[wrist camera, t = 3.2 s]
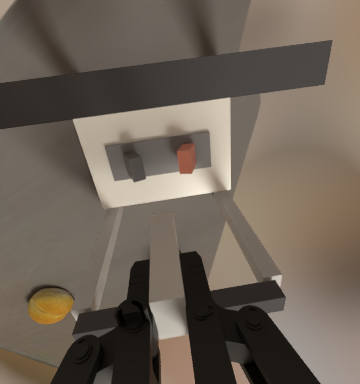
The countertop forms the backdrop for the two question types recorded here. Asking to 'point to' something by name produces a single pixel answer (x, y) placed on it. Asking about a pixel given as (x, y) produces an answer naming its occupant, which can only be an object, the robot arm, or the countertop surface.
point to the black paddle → (134, 166)
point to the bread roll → (50, 305)
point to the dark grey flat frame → (160, 97)
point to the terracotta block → (186, 158)
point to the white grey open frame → (160, 178)
